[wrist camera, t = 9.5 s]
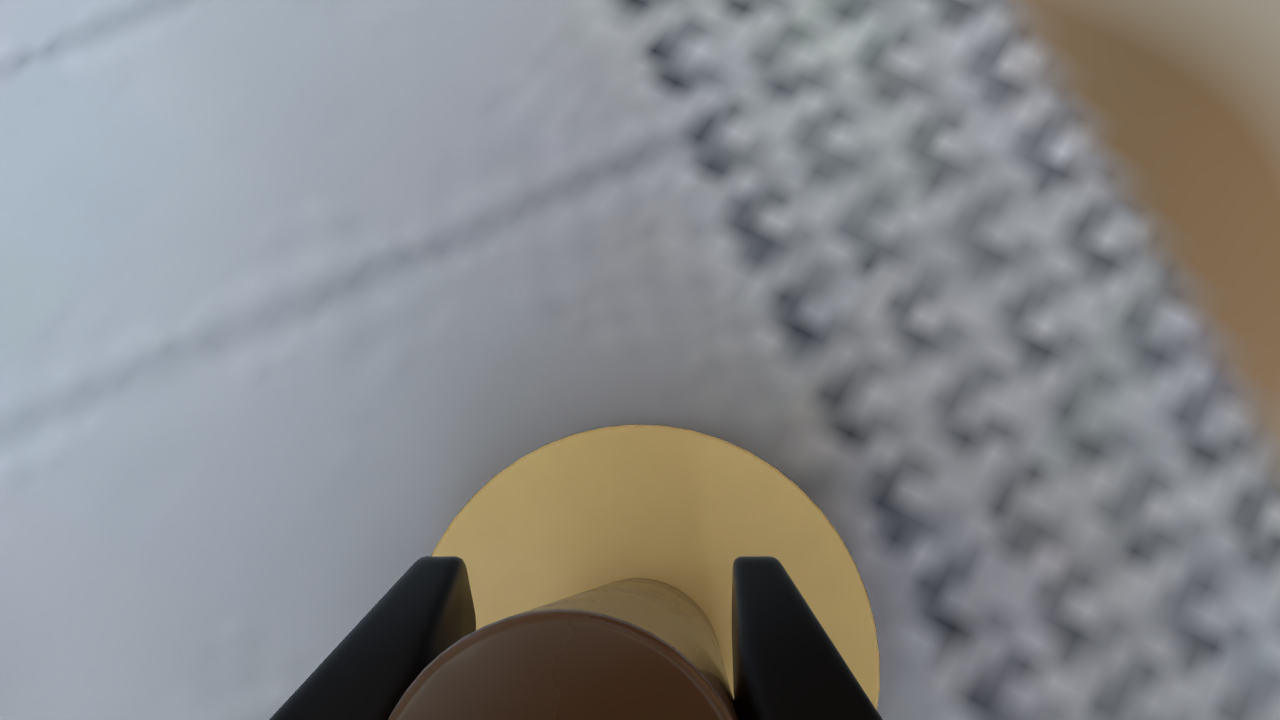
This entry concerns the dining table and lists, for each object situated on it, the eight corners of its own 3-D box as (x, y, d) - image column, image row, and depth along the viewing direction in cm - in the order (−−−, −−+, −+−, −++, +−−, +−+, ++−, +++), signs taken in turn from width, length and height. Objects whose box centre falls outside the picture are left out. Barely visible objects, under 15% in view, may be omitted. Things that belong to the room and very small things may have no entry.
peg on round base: (956, 603, 17) (1392, 687, 6) (695, 1002, 16) (697, 1878, 5) (595, 348, 18) (457, 61, 7) (332, 704, 17) (-251, 945, 6)
